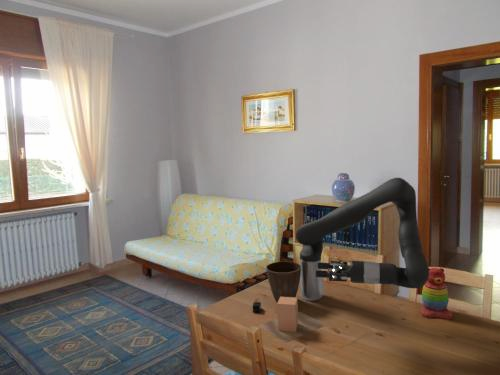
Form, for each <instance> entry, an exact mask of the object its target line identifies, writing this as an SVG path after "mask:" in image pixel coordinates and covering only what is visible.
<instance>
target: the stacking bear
mask: <svg viewBox="0 0 500 375" xmlns="http://www.w3.org/2000/svg"><path fill="white" fill-rule="evenodd" d="M444 272H445V269H444V268H442V267H441V268H436V267H431V268H429V278H428V280H427V282H426V283H425V285H424V286H423V287H422V292H421V300H422V304H423V305H422V307H421V309H420V314H421V316H422V317H423V318H426V319H432V318H441V319H444V320H445V319H446V320H451V319H453V314H452V312H451V311H450V310H449V308H448V306H449V305H448V304H449V298H450V297H449V292H448V288H447V285H446V283H445V281H446V275H445V273H444Z"/></svg>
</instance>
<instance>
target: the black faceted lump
mask: <svg viewBox="0 0 500 375" xmlns="http://www.w3.org/2000/svg"><path fill="white" fill-rule="evenodd" d="M252 308H253V311H252V314H254V313H255V314H256V313H257V314H260V313H261V309H262V302H260V301H254V302H253V303H252Z"/></svg>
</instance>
